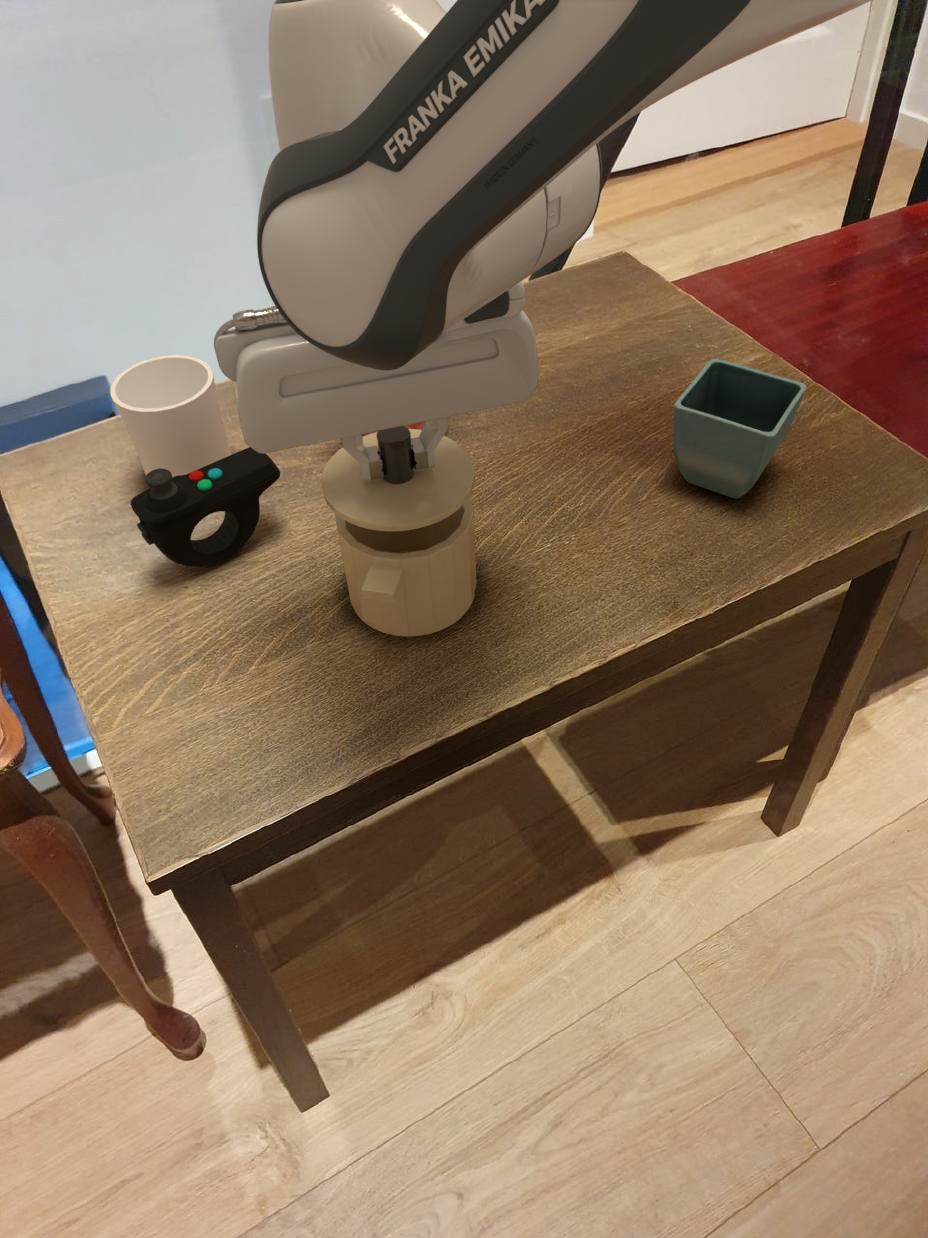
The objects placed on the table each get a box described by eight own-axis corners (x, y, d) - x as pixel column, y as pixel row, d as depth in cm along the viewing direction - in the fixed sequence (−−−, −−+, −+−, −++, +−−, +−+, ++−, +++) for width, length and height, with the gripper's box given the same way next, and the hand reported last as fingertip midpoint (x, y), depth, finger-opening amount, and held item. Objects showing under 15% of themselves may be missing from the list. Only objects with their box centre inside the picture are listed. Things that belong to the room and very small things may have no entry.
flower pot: (785, 466, 83) (809, 382, 76) (751, 520, 78) (774, 436, 72) (696, 438, 86) (712, 355, 80) (658, 488, 82) (672, 405, 75)
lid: (487, 448, 69) (486, 396, 65) (457, 546, 61) (454, 493, 58) (348, 435, 70) (340, 383, 67) (303, 528, 63) (291, 476, 60)
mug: (255, 479, 85) (230, 385, 77) (169, 518, 81) (134, 424, 74) (204, 427, 91) (177, 335, 83) (122, 462, 87) (85, 369, 80)
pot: (491, 533, 78) (490, 455, 72) (454, 671, 68) (448, 593, 62) (378, 520, 80) (367, 443, 74) (324, 653, 70) (305, 576, 63)
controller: (151, 568, 77) (113, 477, 70) (275, 507, 82) (252, 416, 74) (173, 596, 75) (136, 504, 67) (299, 531, 79) (278, 439, 72)
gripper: (211, 344, 51) (260, 527, 61) (550, 283, 54) (543, 466, 64) (201, 293, 55) (249, 472, 65) (517, 239, 58) (515, 418, 68)
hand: (398, 469), depth 65 cm, fingers closed on lid, 2 cm apart
